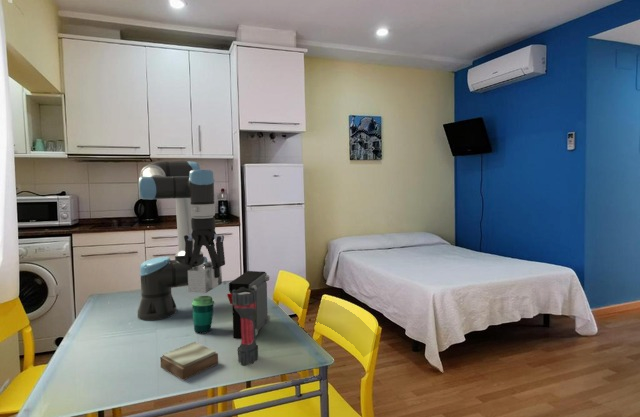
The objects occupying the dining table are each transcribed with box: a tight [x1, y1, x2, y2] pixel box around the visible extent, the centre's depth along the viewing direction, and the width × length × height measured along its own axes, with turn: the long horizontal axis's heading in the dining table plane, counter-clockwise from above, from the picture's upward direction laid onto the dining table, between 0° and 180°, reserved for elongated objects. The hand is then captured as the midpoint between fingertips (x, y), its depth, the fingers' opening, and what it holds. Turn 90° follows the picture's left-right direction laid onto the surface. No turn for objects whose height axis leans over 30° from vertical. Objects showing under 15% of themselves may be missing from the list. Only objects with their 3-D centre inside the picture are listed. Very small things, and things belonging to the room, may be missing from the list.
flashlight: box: [231, 287, 259, 366], centre depth 117 cm, size 8×8×23 cm
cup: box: [191, 295, 215, 335], centre depth 143 cm, size 8×8×12 cm
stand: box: [160, 341, 219, 381], centre depth 116 cm, size 12×12×4 cm
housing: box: [187, 261, 223, 294], centre depth 125 cm, size 6×11×8 cm, turn 168°
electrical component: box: [226, 270, 271, 340], centre depth 142 cm, size 18×10×20 cm, turn 168°
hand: (205, 286), depth 126 cm, fingers closed on housing, 6 cm apart
